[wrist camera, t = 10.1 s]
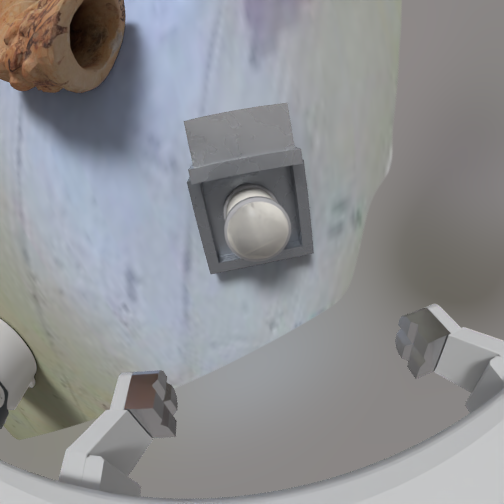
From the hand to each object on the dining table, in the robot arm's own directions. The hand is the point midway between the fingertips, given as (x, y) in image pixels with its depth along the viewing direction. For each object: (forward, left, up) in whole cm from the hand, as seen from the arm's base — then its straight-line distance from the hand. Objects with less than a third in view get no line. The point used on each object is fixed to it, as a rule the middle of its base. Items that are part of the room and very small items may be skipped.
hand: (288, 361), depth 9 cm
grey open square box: (+1, +1, -20) cm, 20 cm away
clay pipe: (-14, +23, -20) cm, 33 cm away
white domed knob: (+1, -1, -19) cm, 19 cm away
